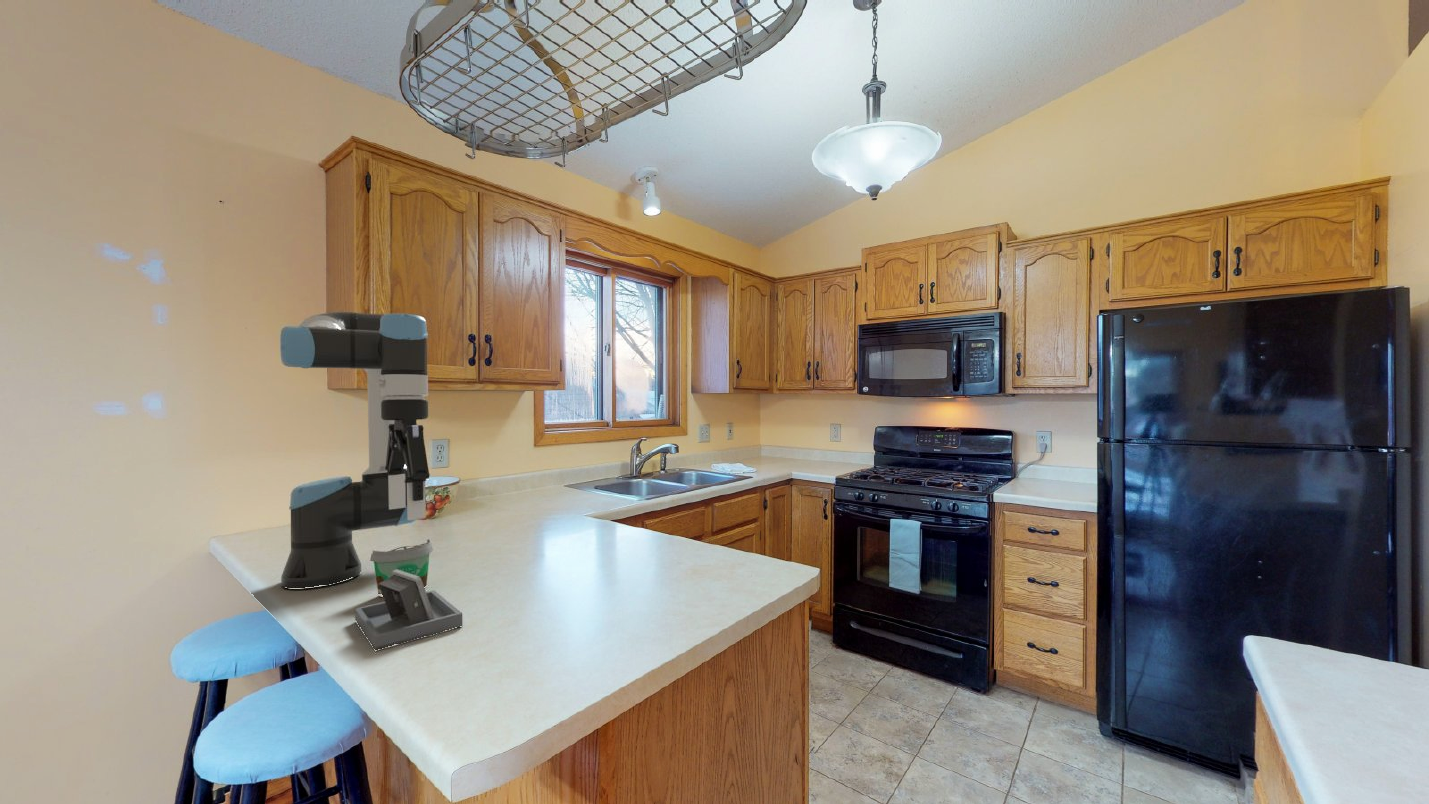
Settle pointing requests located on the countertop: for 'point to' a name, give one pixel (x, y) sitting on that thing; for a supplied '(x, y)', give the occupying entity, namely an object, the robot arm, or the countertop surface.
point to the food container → (402, 562)
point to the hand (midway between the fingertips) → (406, 513)
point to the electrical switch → (406, 598)
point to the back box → (390, 632)
